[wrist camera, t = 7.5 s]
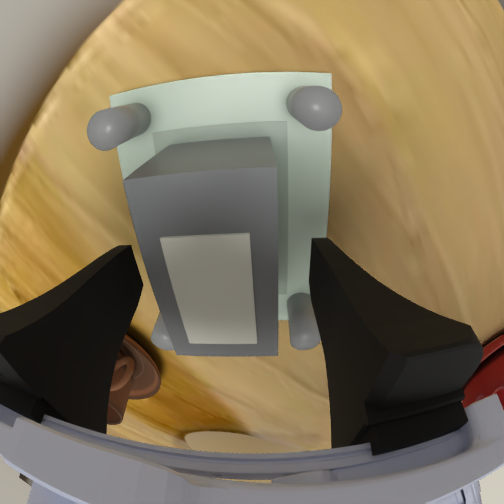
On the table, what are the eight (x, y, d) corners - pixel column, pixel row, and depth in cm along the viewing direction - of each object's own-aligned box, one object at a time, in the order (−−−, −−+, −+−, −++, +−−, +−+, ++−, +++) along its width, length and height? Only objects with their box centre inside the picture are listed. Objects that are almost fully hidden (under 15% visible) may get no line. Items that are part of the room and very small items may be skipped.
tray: (315, 307, 18) (324, 355, 15) (167, 310, 19) (152, 355, 16) (325, 74, 11) (352, 70, 8) (118, 94, 11) (74, 102, 8)
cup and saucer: (60, 273, 18) (18, 331, 13) (189, 352, 22) (175, 419, 17) (44, 340, 23) (20, 385, 18) (138, 395, 27) (125, 442, 22)
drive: (273, 283, 16) (277, 357, 12) (194, 285, 16) (176, 356, 12) (269, 136, 12) (276, 167, 7) (169, 144, 12) (121, 181, 8)
